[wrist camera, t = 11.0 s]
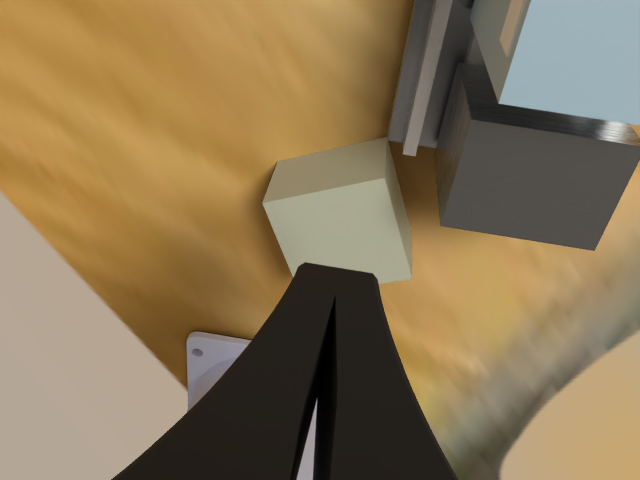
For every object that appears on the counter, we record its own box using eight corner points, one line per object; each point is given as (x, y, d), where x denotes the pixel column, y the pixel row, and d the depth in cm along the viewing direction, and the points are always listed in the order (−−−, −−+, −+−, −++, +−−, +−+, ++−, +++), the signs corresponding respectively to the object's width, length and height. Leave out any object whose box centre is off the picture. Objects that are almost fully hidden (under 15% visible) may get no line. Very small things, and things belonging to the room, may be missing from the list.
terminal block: (411, 228, 22) (412, 278, 20) (311, 246, 23) (300, 296, 21) (387, 134, 20) (384, 178, 18) (278, 159, 21) (262, 203, 19)
